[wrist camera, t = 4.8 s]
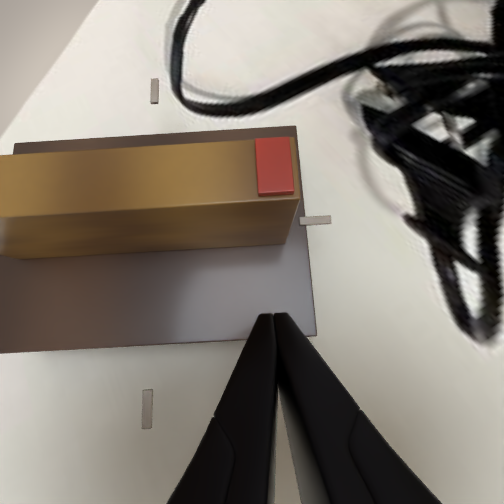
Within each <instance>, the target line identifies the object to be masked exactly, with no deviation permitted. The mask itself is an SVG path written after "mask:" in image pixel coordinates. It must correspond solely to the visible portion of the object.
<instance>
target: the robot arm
mask: <svg viewBox="0 0 504 504" xmlns="http://www.w3.org/2000/svg"><path fill="white" fill-rule="evenodd" d="M278 389H279V395H280V401H281V406H282V411H283V415H284V420H285V425H286V430H287V435H288V440H289V445H290V450H291V454H292V459H293V464H294V469H295V474H296V479H297V484H298V488H299V493H300V498H301V503H302V504H442V503H441V502H440V501H439V500H438V499H437V497H436V496H435V495H434V494H433V493H432V492H431V491H430V490H429V489H428V488H427V487H426V485H425V484H424V483H423V482H422V481H421V480H420V479H419V478H418V477H417V476H416V475H415V474H414V472H413V471H412V470H411V469H410V468H409V467H408V466H407V465H406V463H405V462H404V461H403V460H402V459H401V458H400V457H399V456H398V454H397V453H396V452H395V451H394V450H393V449H392V448H391V446H390V445H389V444H388V443H387V442H386V440H385V439H384V438H383V437H382V435H381V434H380V433H379V432H378V430H377V429H376V428H375V427H374V425H373V424H372V423H371V421H370V420H369V419H368V417H367V416H366V415H365V413H364V412H363V411H362V410H359V409H360V407H359V406H358V404H357V403H356V402H355V401H354V399H353V398H352V397H351V395H350V394H349V393H348V391H347V390H346V389H345V387H344V386H343V385H342V383H341V382H340V381H339V379H338V378H337V377H336V375H335V374H334V373H333V371H332V370H331V369H330V368H329V366H328V365H327V364H326V362H325V361H324V360H323V358H322V357H321V356H320V354H319V353H318V352H317V350H316V349H315V348H314V346H313V345H312V344H311V342H310V341H309V340H308V339H307V337H306V336H305V335H304V333H303V332H302V331H301V329H300V328H299V327H298V325H297V324H296V323H295V321H294V320H293V319H292V317H291V316H290V315H289V314H288V313H287V312H281V313H274V315H273V314H272V313H262V314H259V315H258V317H257V319H256V321H255V324H254V326H253V328H252V330H251V332H250V335H249V337H248V339H247V341H246V344H245V346H244V348H243V350H242V352H241V355H240V357H239V359H238V361H237V364H236V366H235V368H234V370H233V372H232V375H231V377H230V379H229V381H228V384H227V386H226V388H225V390H224V392H223V395H222V397H221V399H220V401H219V403H218V406H217V408H216V410H215V412H214V417H212V419H211V421H210V423H209V425H208V427H207V430H206V432H205V434H204V436H203V438H202V440H201V442H200V444H199V446H198V448H197V450H196V452H195V454H194V456H193V458H192V460H191V462H190V464H189V465H188V467H187V469H186V471H185V473H184V474H183V476H182V478H181V480H180V481H179V483H178V485H177V487H176V488H175V490H174V492H173V493H172V495H171V497H170V498H169V500H168V502H167V503H166V504H274V494H275V466H276V438H277V410H278Z"/></svg>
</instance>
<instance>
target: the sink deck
mask: <svg viewBox="0 0 504 504" xmlns="http://www.w3.org/2000/svg"><path fill="white" fill-rule="evenodd" d="M158 100H159V80H158V78H156V79H151V104H158ZM273 137H294V138H295V144H296V154H297V165H298V175H299V185H300V195H301V199H300V202H299V205H298V208H297V211H296V214H295V217H294V220H293V222H292V225H291V228H290V231H289V234H288V237H287V240H286V243H285V244H273V245H256V246H238V247H221V248H204V249H187V250H170V251H153V252H136V253H119V254H102V255H85V256H68V257H50V258H33V259H15V258H11V257H7V256H3V255H0V354H2V353H20V352H38V351H56V350H75V349H93V348H111V347H129V346H147V345H165V344H184V343H202V342H220V341H238V340H247V339H248V337H249V335H250V332H251V330H252V328H253V326H254V324H255V321H256V319H257V317H258V315H259V314H262V313H272V314H273V315H274V313H281V312H287V313H288V314H289V315H290V316H291V317H292V319H293V320H294V321H295V323H296V324H297V325H298V327H299V328H300V329H301V331H302V332H303V333H304V335H305V336H306V337H311V336H317V330H316V320H315V310H314V300H313V290H312V280H311V270H310V260H309V250H308V240H307V230H306V225H321V224H331V216H313V217H305V210H304V200H303V190H302V180H301V170H300V160H299V150H298V140H297V130H296V126H281V127H265V128H249V129H233V130H217V131H201V132H185V133H169V134H153V135H137V136H121V137H105V138H90V139H74V140H58V141H42V142H26V143H15V144H14V150H13V155H14V154H30V153H46V152H62V151H78V150H94V149H110V148H126V147H142V146H158V145H174V144H190V143H206V142H222V141H238V140H254V139H257V138H273ZM152 405H153V389H148V390H143V402H142V429H151V428H152Z"/></svg>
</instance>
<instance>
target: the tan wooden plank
mask: <svg viewBox="0 0 504 504" xmlns="http://www.w3.org/2000/svg"><path fill="white" fill-rule="evenodd" d="M300 199H301V195H300V185H299V175H298V165H297V154H296V144H295V138H294V137H273V138H257V139H254V140H238V141H222V142H206V143H190V144H174V145H158V146H142V147H126V148H110V149H94V150H78V151H62V152H46V153H30V154H14V155H0V255H3V256H7V257H11V258H15V259H33V258H50V257H68V256H85V255H102V254H119V253H136V252H153V251H170V250H187V249H204V248H221V247H238V246H256V245H273V244H285V243H286V240H287V237H288V234H289V231H290V228H291V225H292V222H293V220H294V217H295V214H296V211H297V208H298V205H299V202H300Z"/></svg>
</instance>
